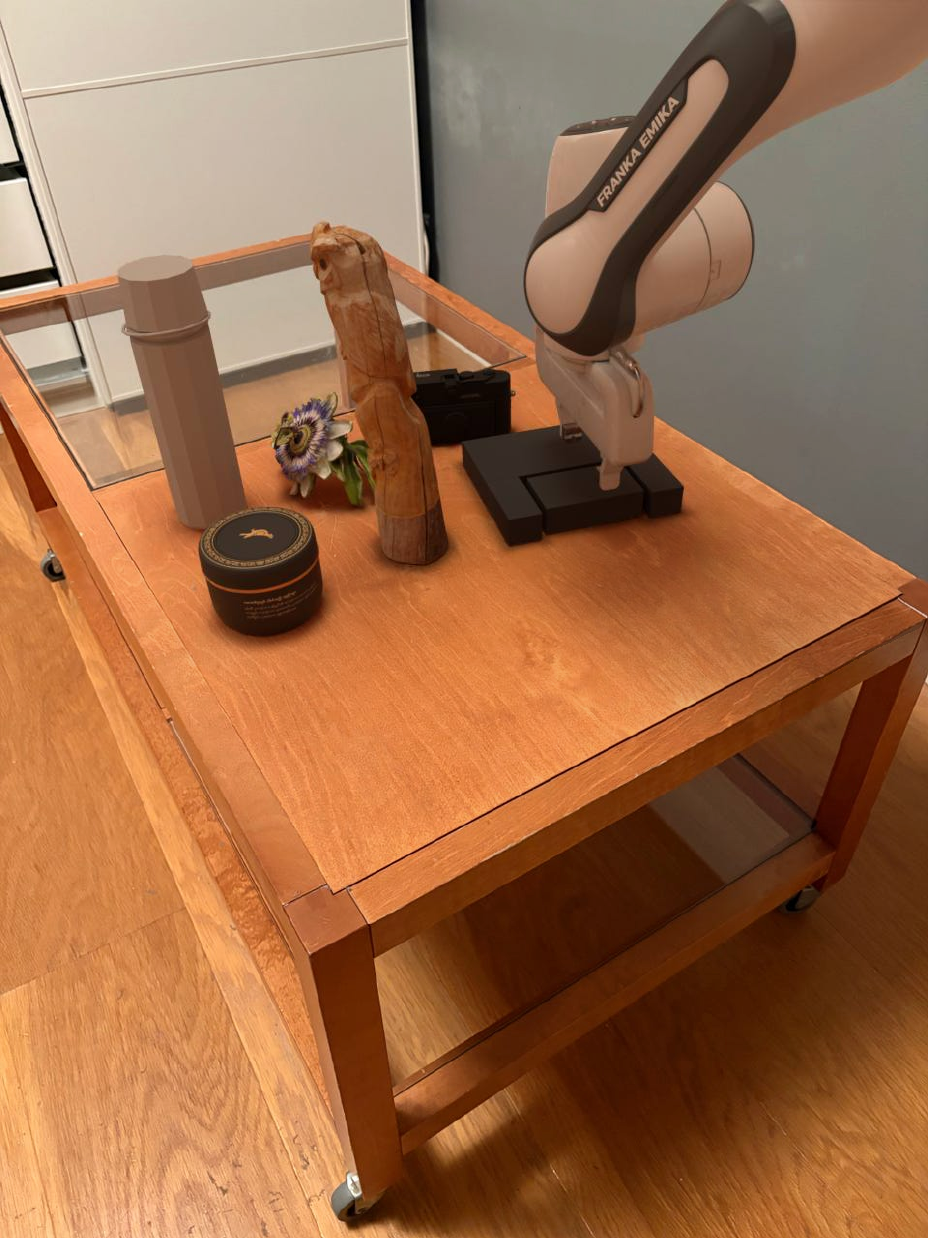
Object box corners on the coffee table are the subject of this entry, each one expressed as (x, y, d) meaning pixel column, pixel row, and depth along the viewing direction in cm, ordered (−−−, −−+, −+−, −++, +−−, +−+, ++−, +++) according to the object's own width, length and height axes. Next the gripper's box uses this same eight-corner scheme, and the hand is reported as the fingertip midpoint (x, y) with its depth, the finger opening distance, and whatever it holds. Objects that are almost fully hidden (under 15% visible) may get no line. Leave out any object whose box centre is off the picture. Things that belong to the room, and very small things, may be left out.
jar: (208, 586, 87) (190, 516, 82) (315, 564, 89) (304, 494, 85) (221, 653, 80) (202, 581, 75) (337, 627, 82) (326, 555, 77)
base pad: (617, 438, 106) (618, 414, 104) (681, 512, 94) (684, 486, 92) (462, 466, 102) (461, 441, 101) (508, 546, 90) (508, 520, 89)
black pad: (617, 486, 98) (619, 461, 96) (641, 516, 94) (644, 490, 92) (526, 503, 96) (526, 477, 94) (546, 535, 92) (546, 508, 90)
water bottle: (263, 518, 96) (213, 269, 80) (188, 544, 93) (121, 290, 77) (230, 480, 102) (177, 242, 86) (159, 503, 99) (91, 260, 83)
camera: (507, 410, 112) (507, 346, 107) (519, 439, 107) (518, 373, 101) (387, 422, 111) (381, 357, 106) (392, 452, 105) (386, 385, 100)
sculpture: (347, 537, 93) (303, 218, 74) (440, 522, 94) (420, 206, 75) (356, 576, 88) (310, 244, 69) (454, 560, 89) (437, 231, 70)
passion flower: (306, 536, 103) (241, 441, 100) (381, 483, 107) (320, 390, 104) (342, 525, 93) (271, 419, 90) (423, 466, 97) (357, 363, 94)
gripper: (680, 363, 75) (665, 510, 84) (585, 279, 91) (580, 411, 99) (607, 375, 74) (598, 523, 83) (523, 289, 90) (523, 421, 98)
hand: (588, 461), depth 91 cm, fingers open, 8 cm apart
